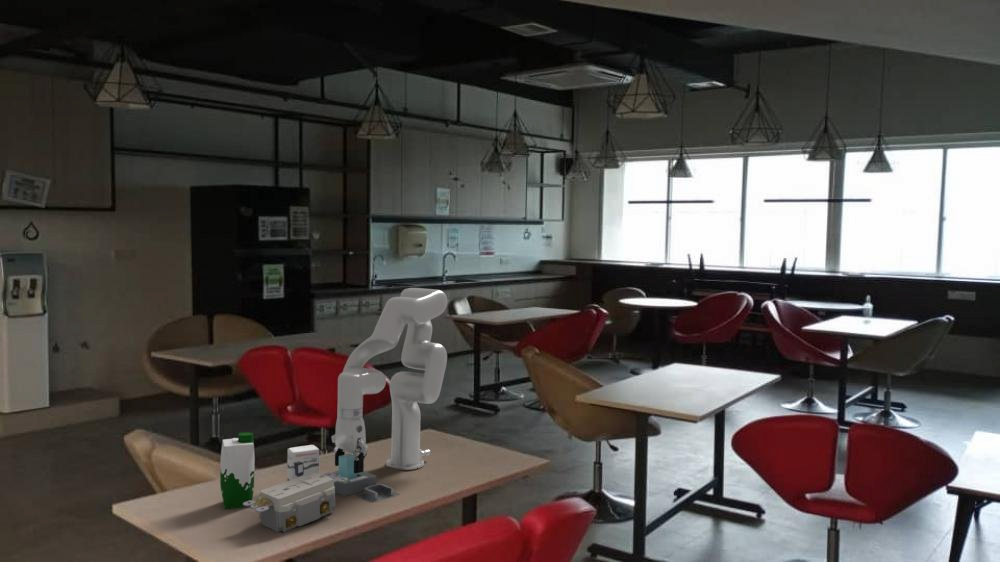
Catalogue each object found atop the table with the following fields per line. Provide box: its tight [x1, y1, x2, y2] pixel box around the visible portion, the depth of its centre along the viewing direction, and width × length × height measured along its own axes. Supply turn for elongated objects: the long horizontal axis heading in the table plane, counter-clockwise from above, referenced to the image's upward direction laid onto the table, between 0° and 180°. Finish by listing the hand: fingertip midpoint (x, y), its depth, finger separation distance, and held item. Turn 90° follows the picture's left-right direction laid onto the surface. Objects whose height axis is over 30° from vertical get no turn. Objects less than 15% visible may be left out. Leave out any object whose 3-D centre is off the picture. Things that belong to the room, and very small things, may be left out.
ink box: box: [286, 444, 320, 482], centre depth 232 cm, size 8×5×12 cm, turn 123°
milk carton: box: [219, 431, 255, 510], centre depth 215 cm, size 9×9×20 cm
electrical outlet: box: [243, 471, 348, 533], centre depth 205 cm, size 12×28×10 cm, turn 140°
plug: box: [338, 453, 357, 479], centre depth 231 cm, size 4×4×10 cm
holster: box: [356, 483, 401, 503], centre depth 224 cm, size 10×8×3 cm
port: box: [322, 470, 378, 497], centre depth 231 cm, size 12×12×4 cm
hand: (348, 468), depth 231 cm, fingers open, 9 cm apart
